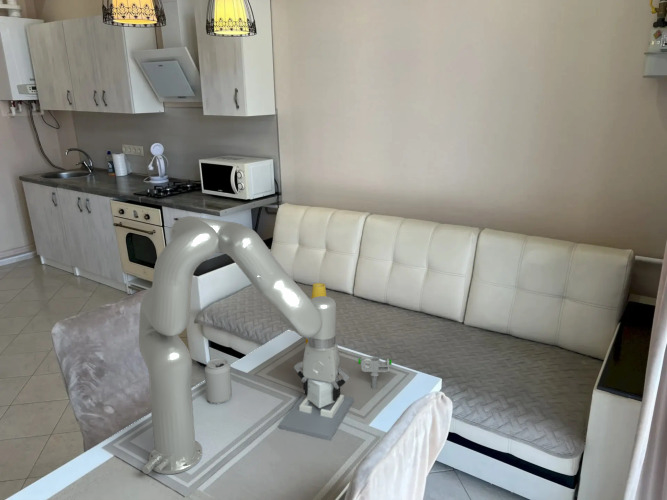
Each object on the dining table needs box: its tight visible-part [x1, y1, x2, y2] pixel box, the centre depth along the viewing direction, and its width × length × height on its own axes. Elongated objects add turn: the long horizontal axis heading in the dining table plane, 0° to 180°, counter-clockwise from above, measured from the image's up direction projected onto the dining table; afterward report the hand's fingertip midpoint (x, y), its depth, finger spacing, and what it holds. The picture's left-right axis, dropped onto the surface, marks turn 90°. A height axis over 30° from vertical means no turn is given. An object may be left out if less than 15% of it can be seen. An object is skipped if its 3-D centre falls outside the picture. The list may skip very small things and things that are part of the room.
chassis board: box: [278, 393, 355, 442], centre depth 140 cm, size 20×15×3 cm
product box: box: [308, 378, 335, 408], centre depth 141 cm, size 6×6×7 cm
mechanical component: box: [357, 356, 392, 390], centre depth 153 cm, size 3×10×10 cm, turn 89°
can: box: [204, 357, 233, 405], centre depth 146 cm, size 8×8×12 cm
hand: (321, 395), depth 141 cm, fingers closed on product box, 8 cm apart
